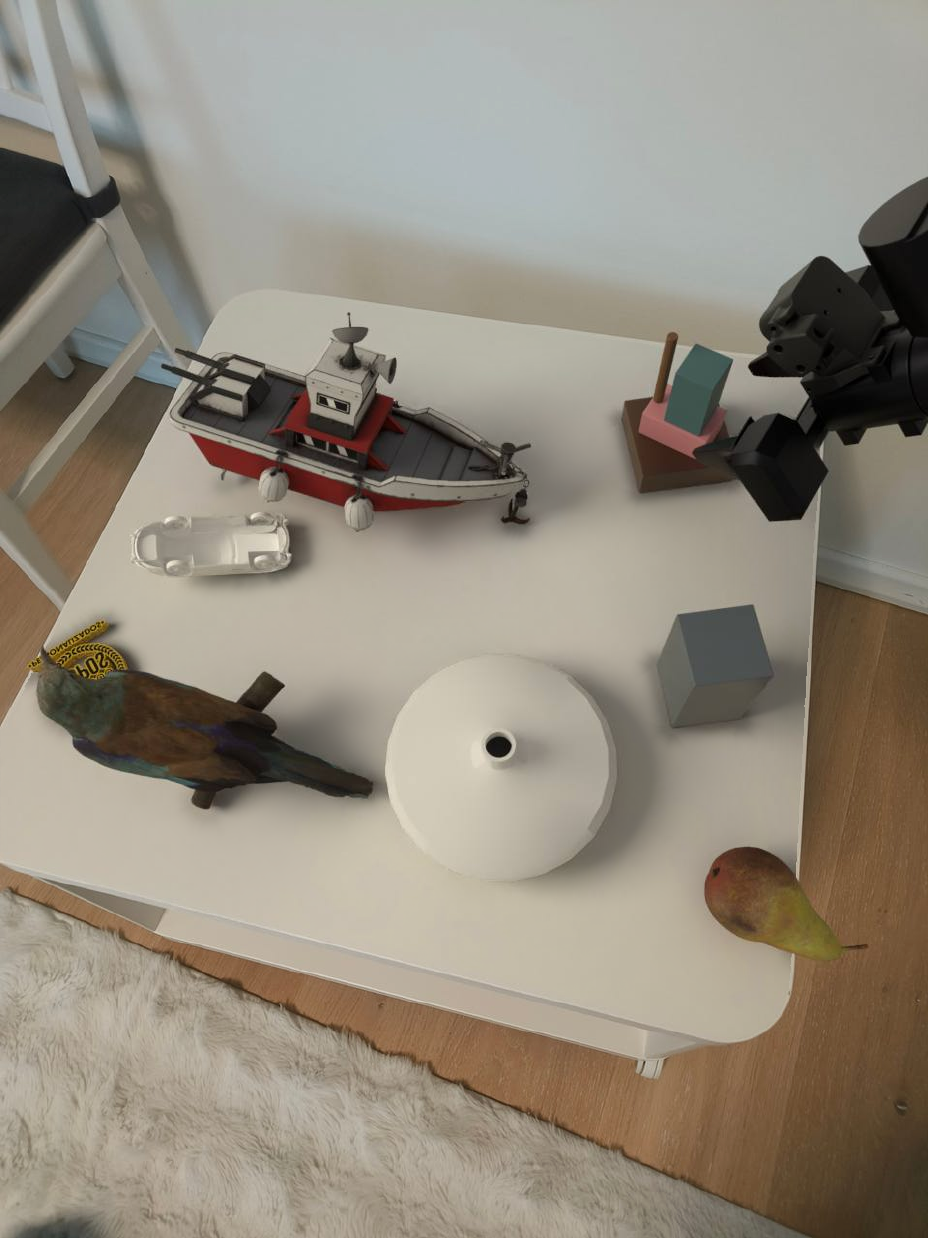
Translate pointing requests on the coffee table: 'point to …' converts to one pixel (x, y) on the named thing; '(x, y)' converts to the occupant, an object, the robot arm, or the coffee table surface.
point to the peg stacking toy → (687, 399)
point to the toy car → (213, 545)
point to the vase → (501, 767)
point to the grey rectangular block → (713, 665)
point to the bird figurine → (183, 733)
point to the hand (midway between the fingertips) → (724, 411)
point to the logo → (84, 654)
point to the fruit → (768, 905)
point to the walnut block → (663, 456)
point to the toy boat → (339, 435)
